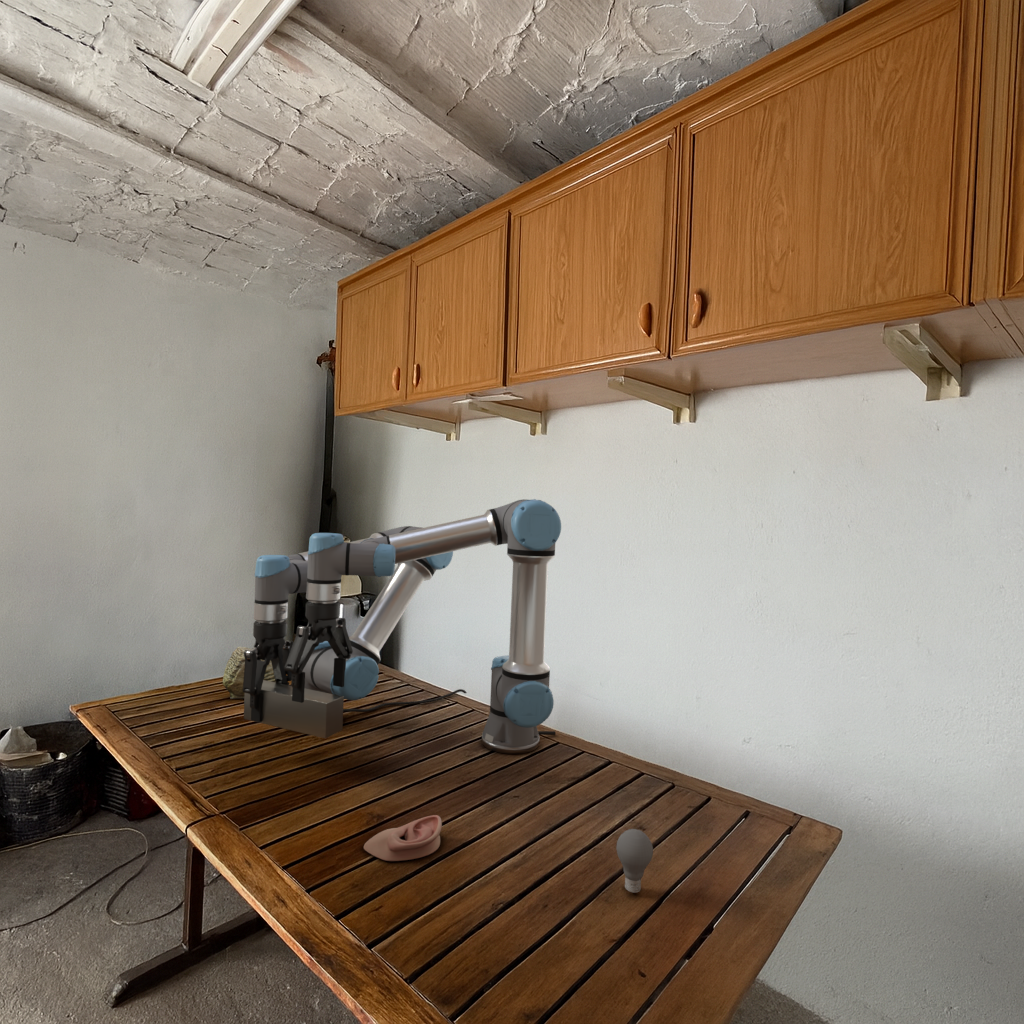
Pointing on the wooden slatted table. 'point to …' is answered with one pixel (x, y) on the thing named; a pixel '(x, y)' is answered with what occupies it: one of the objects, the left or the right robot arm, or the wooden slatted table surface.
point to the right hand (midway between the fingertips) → (319, 693)
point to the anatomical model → (407, 840)
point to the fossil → (240, 673)
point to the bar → (299, 710)
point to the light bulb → (634, 857)
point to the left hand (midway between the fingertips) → (267, 716)
